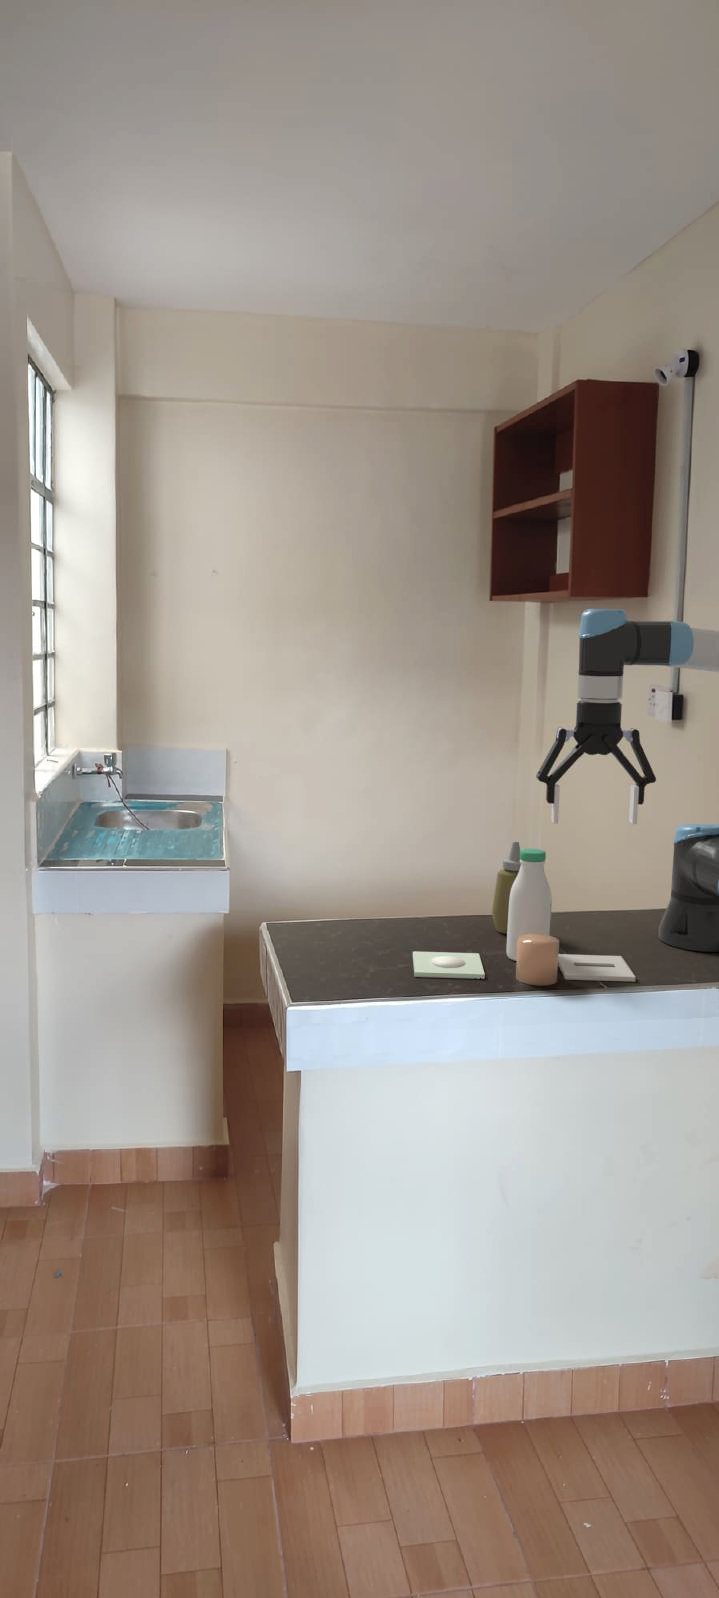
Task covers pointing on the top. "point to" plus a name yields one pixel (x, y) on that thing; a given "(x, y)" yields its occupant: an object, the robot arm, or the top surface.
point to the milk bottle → (529, 900)
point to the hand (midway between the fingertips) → (593, 822)
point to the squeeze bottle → (505, 888)
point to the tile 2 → (594, 968)
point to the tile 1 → (448, 965)
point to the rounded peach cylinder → (537, 959)
